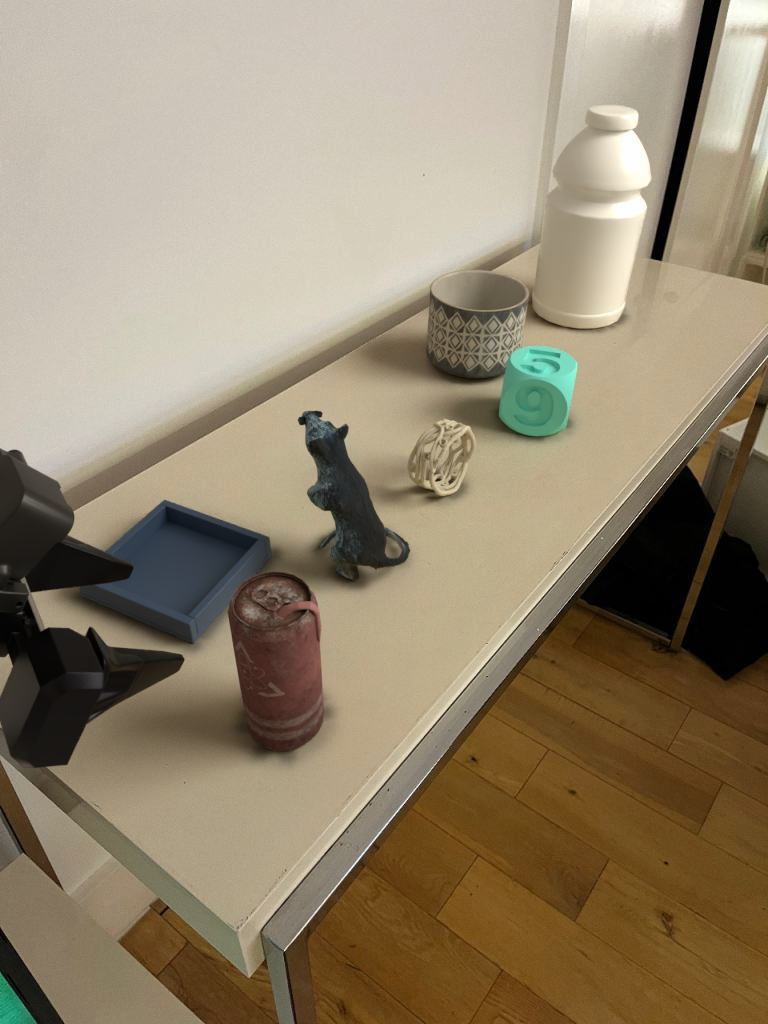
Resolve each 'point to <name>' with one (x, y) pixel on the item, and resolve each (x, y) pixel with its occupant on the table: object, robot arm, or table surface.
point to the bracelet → (455, 433)
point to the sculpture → (346, 501)
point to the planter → (475, 322)
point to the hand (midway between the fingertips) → (154, 614)
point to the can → (278, 659)
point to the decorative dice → (537, 390)
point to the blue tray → (181, 569)
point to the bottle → (593, 222)
